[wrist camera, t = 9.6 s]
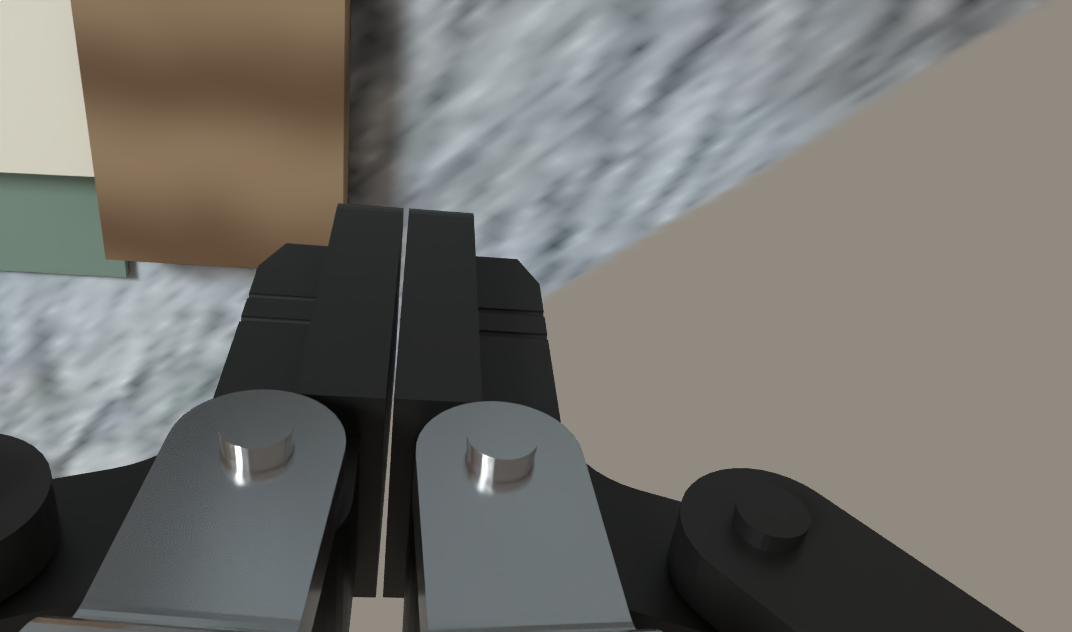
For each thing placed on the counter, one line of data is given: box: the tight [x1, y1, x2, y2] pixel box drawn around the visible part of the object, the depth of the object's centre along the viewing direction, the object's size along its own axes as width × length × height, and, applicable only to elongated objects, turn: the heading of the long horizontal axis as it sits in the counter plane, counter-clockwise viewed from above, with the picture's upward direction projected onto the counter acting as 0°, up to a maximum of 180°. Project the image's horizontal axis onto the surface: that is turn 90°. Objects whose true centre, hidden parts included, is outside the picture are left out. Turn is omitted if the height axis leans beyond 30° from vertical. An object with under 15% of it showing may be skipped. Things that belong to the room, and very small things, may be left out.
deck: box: [70, 0, 351, 268], centre depth 35 cm, size 16×9×2 cm, turn 174°
